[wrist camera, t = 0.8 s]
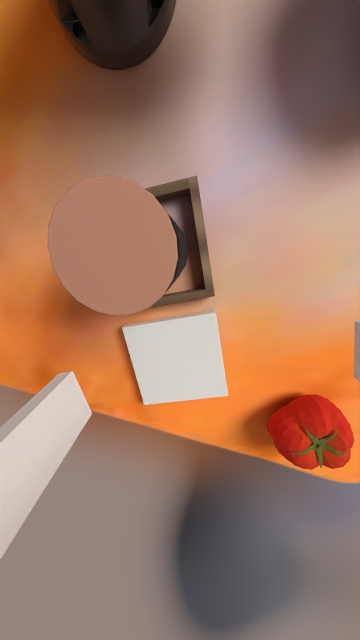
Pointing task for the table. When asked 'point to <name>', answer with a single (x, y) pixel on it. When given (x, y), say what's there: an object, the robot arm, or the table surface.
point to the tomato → (312, 433)
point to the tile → (177, 357)
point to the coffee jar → (114, 245)
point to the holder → (192, 187)
